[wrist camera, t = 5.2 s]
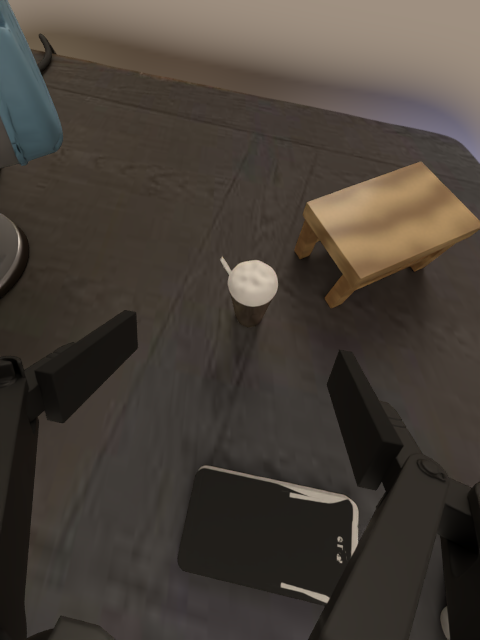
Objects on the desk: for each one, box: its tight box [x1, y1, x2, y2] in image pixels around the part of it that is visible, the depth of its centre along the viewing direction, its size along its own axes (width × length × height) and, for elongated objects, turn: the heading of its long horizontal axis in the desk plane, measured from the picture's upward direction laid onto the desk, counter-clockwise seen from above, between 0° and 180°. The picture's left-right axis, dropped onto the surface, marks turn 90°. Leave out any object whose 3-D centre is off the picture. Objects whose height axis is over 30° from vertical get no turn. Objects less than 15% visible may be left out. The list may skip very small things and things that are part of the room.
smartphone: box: [178, 465, 358, 606], centre depth 22 cm, size 8×1×15 cm
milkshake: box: [220, 256, 278, 328], centre depth 25 cm, size 4×5×10 cm
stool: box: [294, 162, 480, 308], centre depth 29 cm, size 10×15×8 cm, turn 114°
